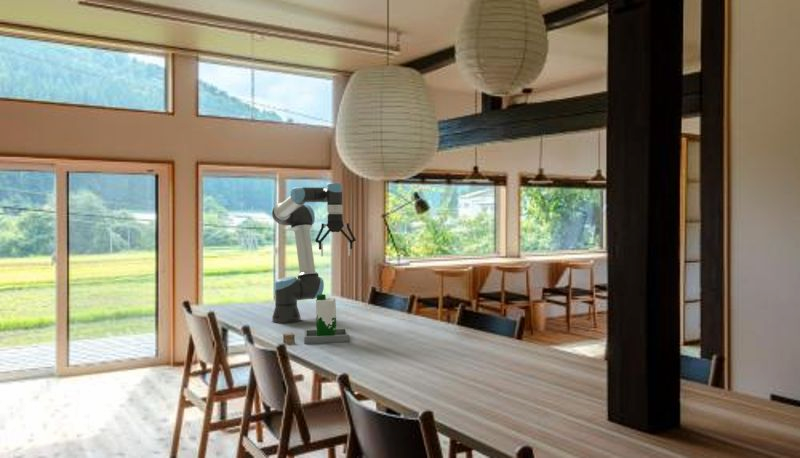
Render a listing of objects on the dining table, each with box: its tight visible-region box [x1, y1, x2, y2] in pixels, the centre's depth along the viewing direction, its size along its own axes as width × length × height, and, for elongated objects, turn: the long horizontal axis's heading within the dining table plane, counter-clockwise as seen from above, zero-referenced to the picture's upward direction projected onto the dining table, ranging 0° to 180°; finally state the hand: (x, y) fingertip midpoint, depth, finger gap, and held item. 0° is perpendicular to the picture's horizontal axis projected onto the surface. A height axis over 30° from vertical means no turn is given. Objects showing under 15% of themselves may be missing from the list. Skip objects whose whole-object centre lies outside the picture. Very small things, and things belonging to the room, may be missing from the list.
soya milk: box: [315, 293, 337, 336], centre depth 283 cm, size 9×9×20 cm
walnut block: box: [282, 332, 296, 345], centre depth 277 cm, size 4×4×4 cm
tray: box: [303, 328, 350, 345], centre depth 283 cm, size 16×20×3 cm
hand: (335, 255), depth 307 cm, fingers open, 13 cm apart
